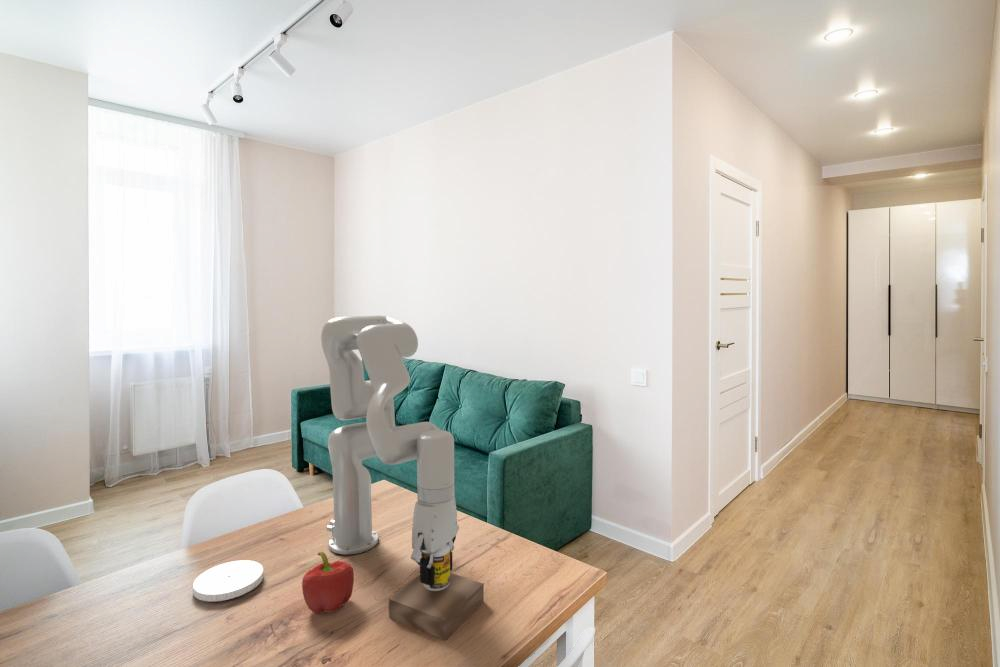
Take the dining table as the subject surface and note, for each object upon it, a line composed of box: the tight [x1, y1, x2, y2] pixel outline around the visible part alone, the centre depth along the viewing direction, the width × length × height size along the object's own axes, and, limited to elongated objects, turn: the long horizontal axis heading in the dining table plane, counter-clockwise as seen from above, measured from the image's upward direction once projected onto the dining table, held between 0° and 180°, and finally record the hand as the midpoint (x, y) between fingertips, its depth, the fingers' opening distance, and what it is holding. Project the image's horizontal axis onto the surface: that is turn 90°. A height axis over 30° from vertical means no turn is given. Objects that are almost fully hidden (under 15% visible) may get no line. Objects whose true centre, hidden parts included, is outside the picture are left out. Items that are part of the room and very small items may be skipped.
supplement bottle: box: [423, 543, 451, 591], centre depth 105 cm, size 6×6×10 cm
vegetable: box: [301, 551, 355, 614], centre depth 107 cm, size 11×10×10 cm
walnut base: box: [388, 572, 485, 641], centre depth 106 cm, size 14×14×4 cm
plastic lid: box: [192, 559, 264, 603], centre depth 114 cm, size 14×14×2 cm
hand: (436, 575), depth 105 cm, fingers closed on supplement bottle, 5 cm apart
